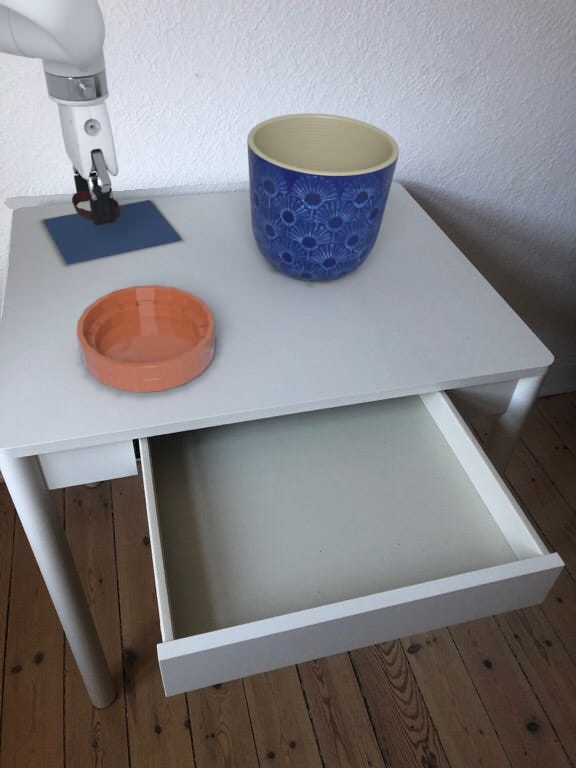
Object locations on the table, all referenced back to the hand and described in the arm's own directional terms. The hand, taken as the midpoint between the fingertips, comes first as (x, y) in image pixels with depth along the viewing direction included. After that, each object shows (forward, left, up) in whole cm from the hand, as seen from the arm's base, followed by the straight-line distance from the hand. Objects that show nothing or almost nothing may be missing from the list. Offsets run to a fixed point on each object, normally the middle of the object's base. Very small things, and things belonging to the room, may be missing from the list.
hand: (96, 210), depth 93 cm
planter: (+28, -16, -7) cm, 33 cm away
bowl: (-2, -26, -7) cm, 27 cm away
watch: (0, 0, -1) cm, 1 cm away
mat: (+3, +5, -7) cm, 9 cm away
